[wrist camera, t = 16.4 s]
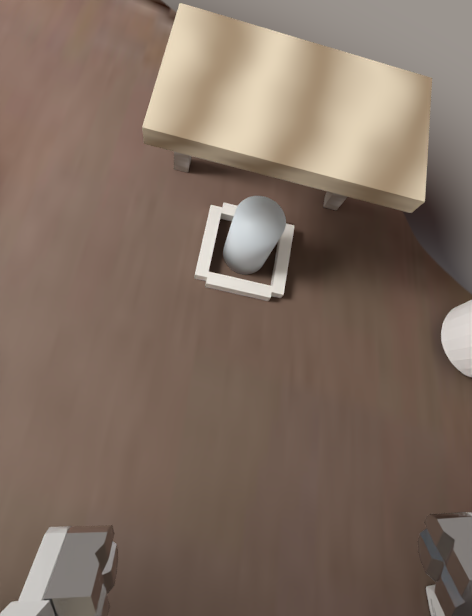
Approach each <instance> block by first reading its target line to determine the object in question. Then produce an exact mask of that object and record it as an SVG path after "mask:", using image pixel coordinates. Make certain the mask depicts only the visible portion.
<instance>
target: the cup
mask: <svg viewBox="0 0 472 616" xmlns="http://www.w3.org/2000/svg"><path fill="white" fill-rule="evenodd" d="M441 342H442V345H443V348H444V351H445V353H446V355H447V356H448V358H449V360H450V362H451V363H452V364H453V365H454V366H455V367H456V368H457V369H458V370H459V371H461V372H462V373H463V374H465V375H466V376H469V377H472V300H470V301H468V302H466V303H464V304H461V305H459V306H457V307H455V308H453V309H452V310H451V311H450V312H449V313H448V314H447V316H446V318H445V320H444V322H443V325H442V331H441Z"/></svg>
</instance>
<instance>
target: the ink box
mask: <svg viewBox="0 0 472 616" xmlns="http://www.w3.org/2000/svg"><path fill="white" fill-rule="evenodd" d="M435 585H436V584H435ZM435 585H431V586H427V587H426V592H427V598H428V603H429V608H430V613H431V616H445V614H444V612H443V610H442V608H441V606H440V603H439V601H438V599H437V597H436V595H435V592H434V591H435Z"/></svg>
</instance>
